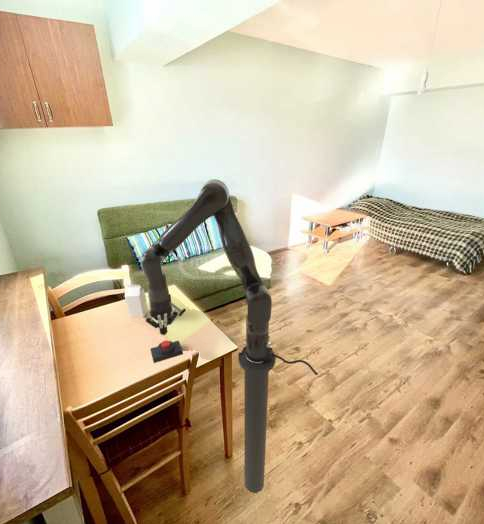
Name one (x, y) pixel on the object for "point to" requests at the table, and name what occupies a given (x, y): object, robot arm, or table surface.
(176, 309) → the lever
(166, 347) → the button
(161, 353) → the control block
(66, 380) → the table surface
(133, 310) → the milk carton
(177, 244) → the robot arm
